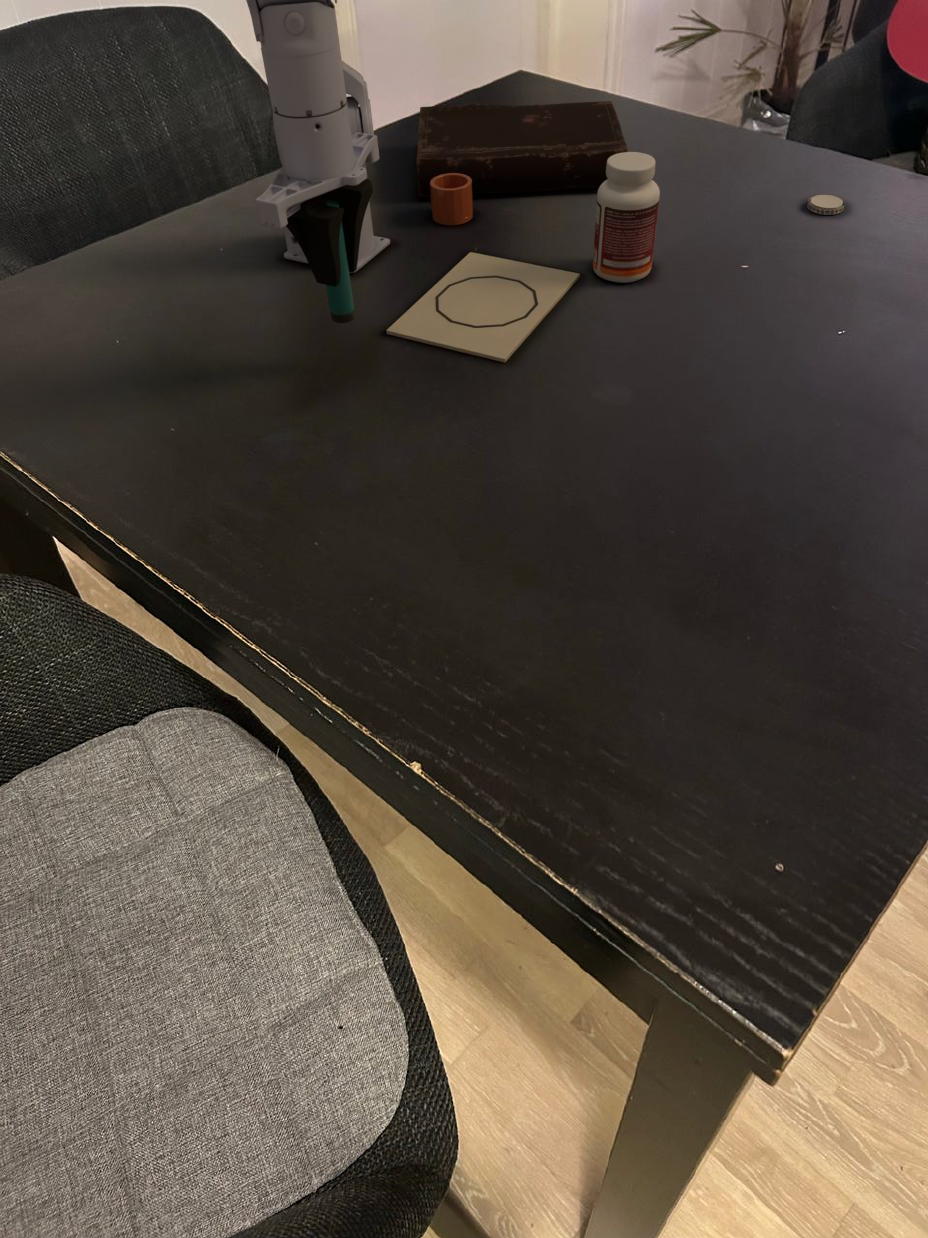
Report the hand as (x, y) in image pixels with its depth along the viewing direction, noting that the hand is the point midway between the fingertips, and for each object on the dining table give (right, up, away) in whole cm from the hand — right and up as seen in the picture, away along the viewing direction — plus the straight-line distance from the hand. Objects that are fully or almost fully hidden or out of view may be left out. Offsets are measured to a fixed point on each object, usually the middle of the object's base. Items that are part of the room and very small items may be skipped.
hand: (336, 275), depth 77 cm
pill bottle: (+28, +7, +16) cm, 33 cm away
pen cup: (+10, +18, +27) cm, 34 cm away
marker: (0, -3, +3) cm, 4 cm away
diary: (+18, +28, +36) cm, 49 cm away
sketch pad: (+13, +2, +13) cm, 18 cm away
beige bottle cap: (+53, +17, +24) cm, 60 cm away
